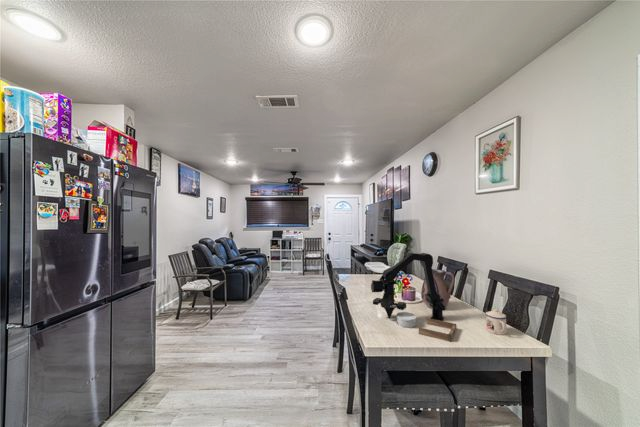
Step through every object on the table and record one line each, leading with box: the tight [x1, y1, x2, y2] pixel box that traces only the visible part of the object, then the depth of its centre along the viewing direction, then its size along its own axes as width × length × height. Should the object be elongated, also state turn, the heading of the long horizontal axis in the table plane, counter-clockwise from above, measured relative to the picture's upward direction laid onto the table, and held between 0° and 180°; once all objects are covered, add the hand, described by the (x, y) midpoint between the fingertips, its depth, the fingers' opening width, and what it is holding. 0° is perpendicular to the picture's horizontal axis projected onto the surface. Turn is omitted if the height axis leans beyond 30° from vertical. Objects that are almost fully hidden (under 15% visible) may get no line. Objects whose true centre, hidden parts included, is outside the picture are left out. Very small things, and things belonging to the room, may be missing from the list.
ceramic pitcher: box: [420, 268, 456, 309], centre depth 174 cm, size 18×21×25 cm
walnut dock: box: [418, 317, 458, 343], centre depth 135 cm, size 17×15×3 cm
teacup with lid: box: [485, 308, 507, 336], centre depth 133 cm, size 12×9×12 cm
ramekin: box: [395, 311, 418, 329], centre depth 145 cm, size 11×11×5 cm
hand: (389, 318), depth 151 cm, fingers closed
